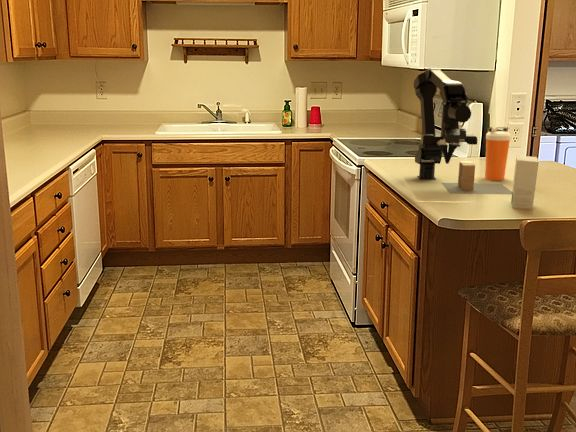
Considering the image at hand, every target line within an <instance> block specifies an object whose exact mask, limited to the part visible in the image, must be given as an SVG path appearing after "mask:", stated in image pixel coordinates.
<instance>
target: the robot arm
mask: <svg viewBox="0 0 576 432" xmlns="http://www.w3.org/2000/svg"><path fill="white" fill-rule="evenodd" d="M413 89H414V92H415V96H416V97H417V98H418V99H419V102H420V114H421V119H420V120H421V131H422V132H421V133H422V134H421V137H420V143H419V144H418V150H417V152H416V154H415V156H414V162H415V163H416V164H418V165H419V173H418V175H417V176H416V177H417V179H418V180H429V181H431V180H433V181H435V180H437V178H436V177H435V174H436V173H435V171H436V170H435V169H436V164H437V165H439V164H441V162H442V157H443V158H444V161H445V164H449V163H450V161H451V158H452V157H453V154H454V152H455V150H456V149H457V148H459V147H461V144H460V143H466V144H467V145H478V137H477V135H475V134H467V129H466V128H460V129H459V127H460V125H459V123H462V124H463V123H466V122H468V121H469V120H470V119H471V117H472V110H471V109H470V107H469V106H467V104H468V99H469V98H468V97H469V96H468V95H467V93H466V89H465V86H464V84H463V83H462V82H460V81H458V80H452V79H451V78H449V77H448V76H447V75H446V74H445V73H444V72H443V71H442V69H441V68H439V67H437V68H431V67H430V68H427V69H425V71H424V72H422V73H420V74H417V76H416V78H415V79H414V80H413ZM437 89H439V95H440V98H441V100H442V101H441V105H442V113H441V124H440V125H441V127H440V135H439V136H437V135H436V124H435V123H436V122H435V109H434V108H435V107H434V97H435V95H436V93H437V91H438V90H437Z"/></svg>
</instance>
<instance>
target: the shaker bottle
mask: <svg viewBox="0 0 576 432" xmlns="http://www.w3.org/2000/svg"><path fill="white" fill-rule="evenodd" d="M509 129H510V127H507V126H505V127H504V126H503V127H502V126H499V127H493V126H490V127H488V128H487V133H486V134H485V162H484V163H485V166H484V167H485V168H484V170H485V171H484V178H485V179H486V180H491V181H504V180H505V176H506V167H507V161H508V153H509V147H510V142H511V138H512V137H511V133H510V132H509V131H508V130H509Z"/></svg>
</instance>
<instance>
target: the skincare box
mask: <svg viewBox="0 0 576 432" xmlns="http://www.w3.org/2000/svg"><path fill="white" fill-rule="evenodd" d="M538 169H539V159H538V157H537V156H528V155H527V156H526V155H516V158H515V166H514V175H513V181H512V182H513V183H512V189H511V191H512V194H511V198H510V199H511V201H510V204H511V208H512V209H517V210H519V209H520V210H531V211H532V210H533V209H534V208H533V206H534V199H535V193H536V185H537V177H538Z"/></svg>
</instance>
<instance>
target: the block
mask: <svg viewBox="0 0 576 432" xmlns="http://www.w3.org/2000/svg"><path fill="white" fill-rule="evenodd" d="M475 173H476V164H475V163H473V162H472V161H466V160H465V161H462V160H461V161H459V163H458V177H457V183H458V187H459V188H460V189H461V190H473V188H474V183H475Z"/></svg>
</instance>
